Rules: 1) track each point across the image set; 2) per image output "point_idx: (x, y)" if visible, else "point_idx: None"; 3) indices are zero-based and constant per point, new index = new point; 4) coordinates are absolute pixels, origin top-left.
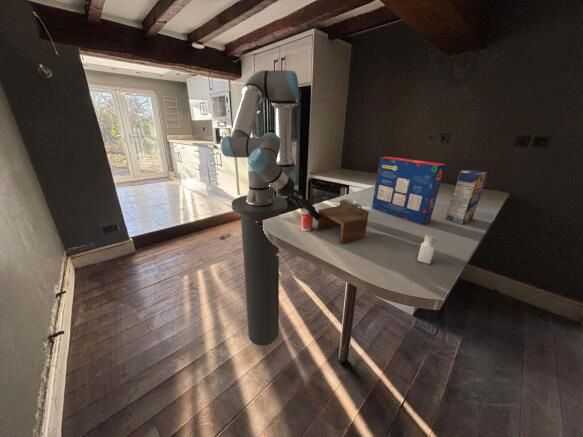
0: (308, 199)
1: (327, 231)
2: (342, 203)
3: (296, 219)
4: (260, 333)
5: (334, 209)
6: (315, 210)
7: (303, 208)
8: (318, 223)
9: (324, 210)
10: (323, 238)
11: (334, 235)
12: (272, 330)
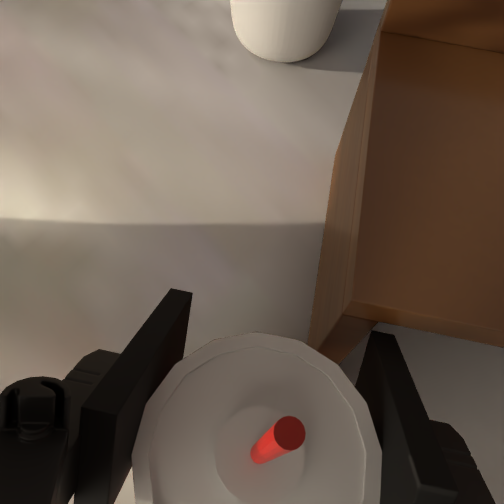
0: (301, 440)
1: (398, 341)
2: (437, 2)
3: (2, 362)
4: None
5: (448, 145)
6: (428, 424)
7: (151, 446)
8: (330, 358)
9: (416, 257)
10: (496, 492)
11: (491, 358)
12: None
